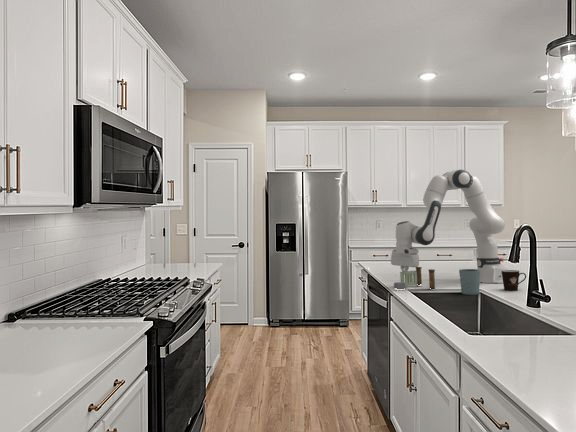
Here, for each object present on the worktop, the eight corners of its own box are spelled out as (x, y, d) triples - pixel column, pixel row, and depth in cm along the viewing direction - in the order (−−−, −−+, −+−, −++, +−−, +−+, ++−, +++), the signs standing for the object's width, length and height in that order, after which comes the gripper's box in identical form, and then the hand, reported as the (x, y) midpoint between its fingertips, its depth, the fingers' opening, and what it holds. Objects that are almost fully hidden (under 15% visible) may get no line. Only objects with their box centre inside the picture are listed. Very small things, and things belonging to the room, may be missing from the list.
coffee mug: (501, 290, 250) (500, 271, 250) (502, 288, 257) (501, 269, 257) (526, 291, 244) (525, 272, 244) (526, 289, 252) (526, 270, 252)
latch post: (432, 288, 266) (431, 268, 266) (437, 289, 260) (436, 269, 260) (426, 288, 265) (425, 269, 265) (431, 290, 260) (430, 270, 260)
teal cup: (458, 294, 244) (457, 270, 244) (461, 291, 253) (460, 268, 253) (479, 295, 239) (479, 271, 239) (482, 292, 248) (481, 268, 248)
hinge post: (420, 285, 278) (419, 266, 278) (423, 286, 274) (422, 267, 274) (415, 285, 277) (414, 267, 277) (418, 286, 274) (417, 267, 274)
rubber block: (401, 289, 267) (401, 282, 267) (405, 290, 263) (405, 283, 263) (394, 289, 266) (393, 282, 266) (397, 291, 262) (397, 283, 262)
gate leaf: (417, 284, 274) (416, 270, 274) (402, 286, 270) (402, 272, 270) (415, 284, 276) (415, 270, 276) (400, 286, 271) (400, 271, 271)
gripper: (387, 249, 282) (388, 272, 282) (411, 251, 264) (412, 276, 264) (396, 248, 285) (397, 272, 285) (420, 250, 267) (421, 275, 267)
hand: (404, 274), depth 274 cm, fingers closed
